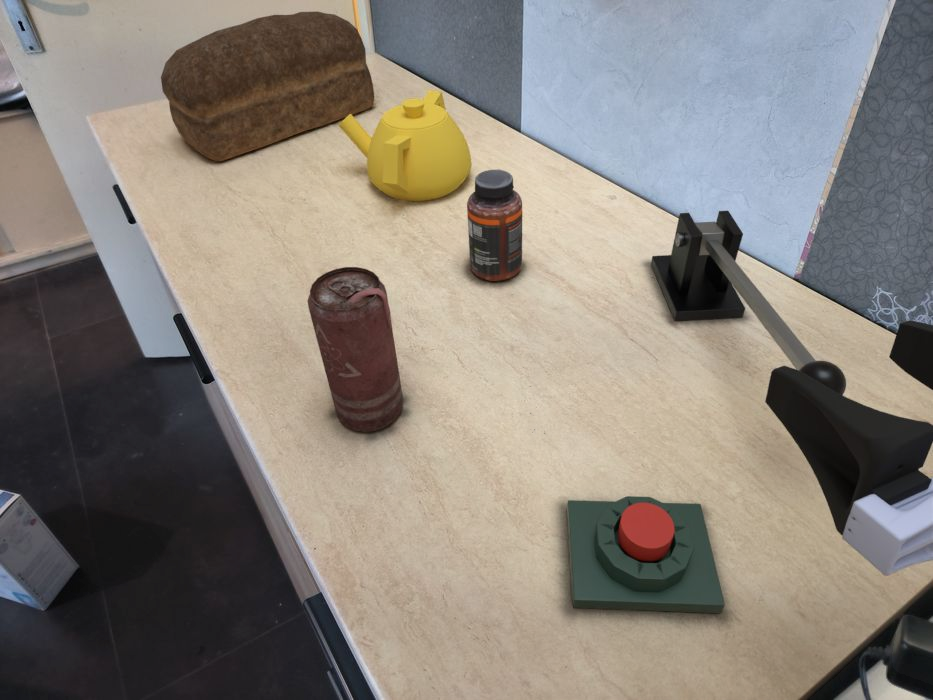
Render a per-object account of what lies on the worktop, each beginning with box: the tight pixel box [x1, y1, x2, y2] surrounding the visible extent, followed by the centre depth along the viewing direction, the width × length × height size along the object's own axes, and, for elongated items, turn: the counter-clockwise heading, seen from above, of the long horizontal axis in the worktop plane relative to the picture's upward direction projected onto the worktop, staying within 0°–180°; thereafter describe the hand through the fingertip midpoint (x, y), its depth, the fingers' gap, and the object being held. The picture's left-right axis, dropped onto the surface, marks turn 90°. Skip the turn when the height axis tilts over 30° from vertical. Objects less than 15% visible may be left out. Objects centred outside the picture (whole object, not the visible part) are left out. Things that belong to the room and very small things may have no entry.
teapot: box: [337, 89, 473, 202], centre depth 87 cm, size 20×18×11 cm
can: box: [307, 266, 404, 433], centre depth 55 cm, size 6×6×14 cm
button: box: [618, 503, 675, 561], centre depth 45 cm, size 4×4×2 cm
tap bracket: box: [650, 210, 746, 322], centre depth 67 cm, size 10×7×8 cm
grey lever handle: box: [694, 221, 847, 396], centre depth 56 cm, size 27×3×3 cm, turn 2°
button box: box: [566, 495, 726, 614], centre depth 46 cm, size 10×8×3 cm
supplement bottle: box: [466, 169, 523, 282], centre depth 71 cm, size 6×6×11 cm
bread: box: [160, 11, 375, 162], centre depth 102 cm, size 15×32×16 cm, turn 130°
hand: (838, 360), depth 31 cm, fingers open, 7 cm apart
